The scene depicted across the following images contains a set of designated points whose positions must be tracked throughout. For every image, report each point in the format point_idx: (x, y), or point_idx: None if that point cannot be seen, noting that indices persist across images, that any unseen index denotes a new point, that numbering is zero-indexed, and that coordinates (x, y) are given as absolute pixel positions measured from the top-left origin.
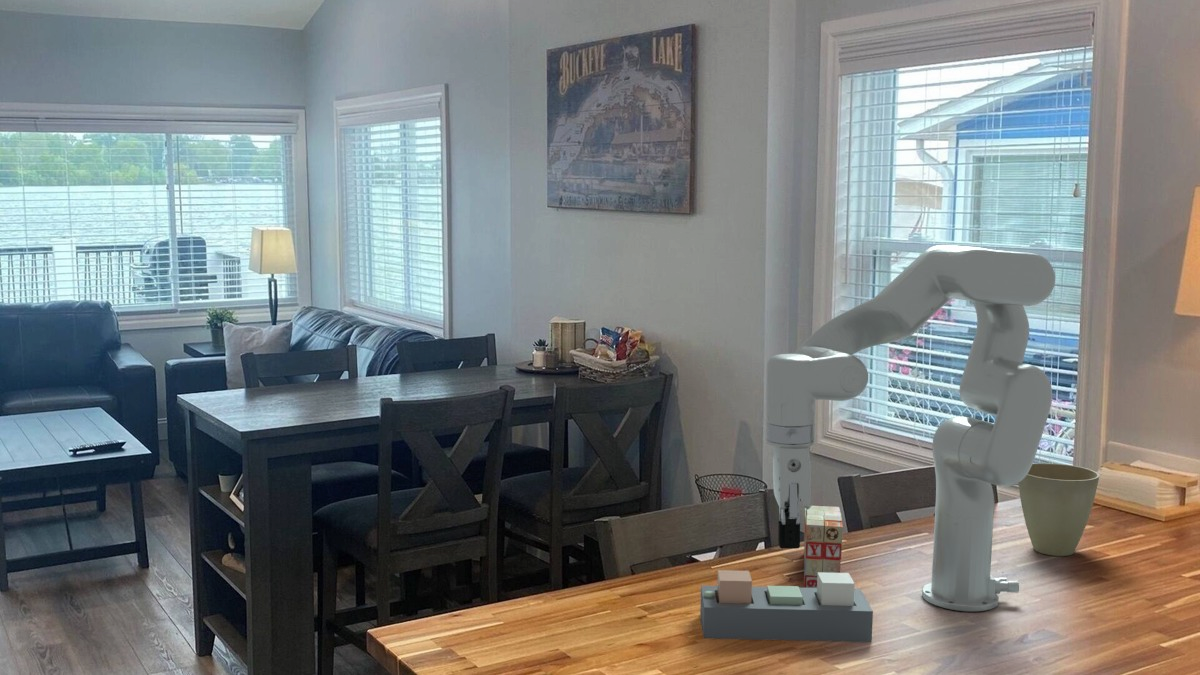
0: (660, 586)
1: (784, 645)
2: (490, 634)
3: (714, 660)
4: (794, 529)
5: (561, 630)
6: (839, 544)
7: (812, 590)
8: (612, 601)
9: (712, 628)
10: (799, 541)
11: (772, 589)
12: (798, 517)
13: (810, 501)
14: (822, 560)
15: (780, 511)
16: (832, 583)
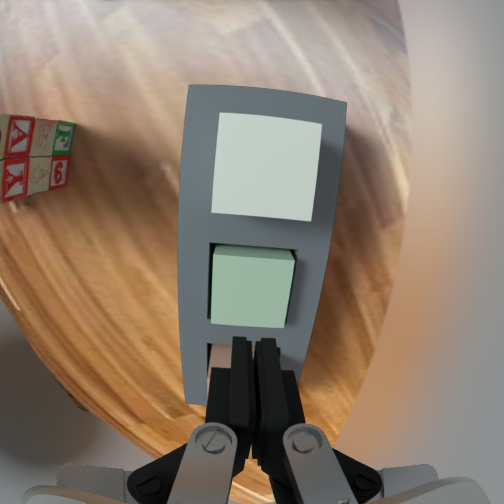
0: (98, 385)
1: (326, 274)
2: (256, 483)
3: (356, 365)
4: (304, 418)
5: (249, 462)
6: (11, 120)
7: (197, 209)
8: (161, 431)
9: None
10: (277, 354)
11: (237, 317)
12: (335, 462)
13: (488, 502)
14: (31, 158)
15: (228, 499)
16: (314, 190)
